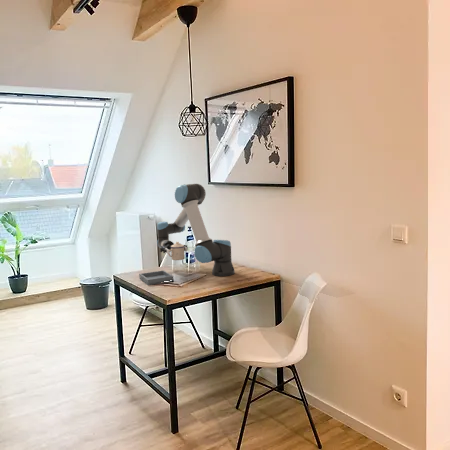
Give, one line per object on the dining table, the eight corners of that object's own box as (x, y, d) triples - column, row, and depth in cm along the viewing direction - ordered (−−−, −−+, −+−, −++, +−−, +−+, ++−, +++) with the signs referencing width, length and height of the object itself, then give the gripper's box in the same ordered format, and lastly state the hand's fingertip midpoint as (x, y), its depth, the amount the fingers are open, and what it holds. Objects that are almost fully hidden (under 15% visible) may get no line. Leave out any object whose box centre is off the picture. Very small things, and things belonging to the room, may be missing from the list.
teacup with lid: (180, 257, 324) (179, 240, 323) (187, 258, 317) (186, 241, 315) (165, 259, 317) (164, 242, 315) (172, 261, 310) (171, 244, 308)
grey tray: (163, 275, 324) (163, 270, 323) (173, 281, 306) (173, 276, 305) (139, 278, 317) (139, 273, 316) (147, 285, 299) (147, 279, 298)
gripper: (184, 249, 338) (195, 254, 318) (151, 252, 328) (160, 258, 308) (183, 238, 337) (194, 242, 317) (150, 242, 327) (159, 246, 307)
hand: (177, 250), depth 313 cm, fingers closed on teacup with lid, 12 cm apart
